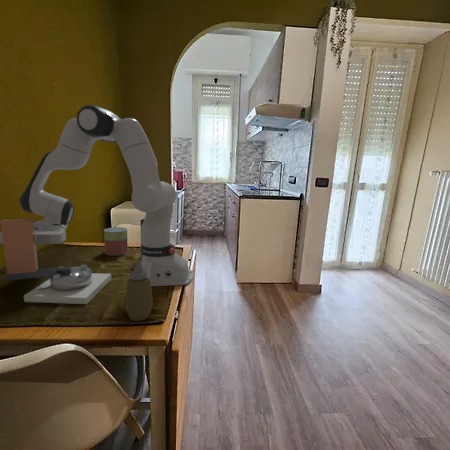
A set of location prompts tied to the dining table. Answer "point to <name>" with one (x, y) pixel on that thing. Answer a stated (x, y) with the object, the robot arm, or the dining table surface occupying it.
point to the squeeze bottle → (139, 294)
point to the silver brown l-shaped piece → (27, 258)
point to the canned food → (115, 241)
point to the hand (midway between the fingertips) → (21, 242)
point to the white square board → (68, 292)
